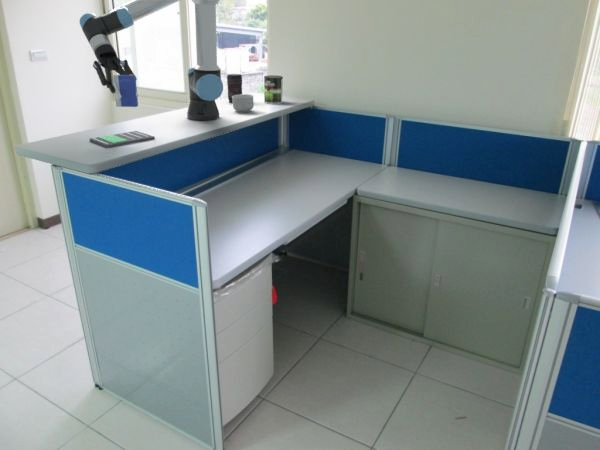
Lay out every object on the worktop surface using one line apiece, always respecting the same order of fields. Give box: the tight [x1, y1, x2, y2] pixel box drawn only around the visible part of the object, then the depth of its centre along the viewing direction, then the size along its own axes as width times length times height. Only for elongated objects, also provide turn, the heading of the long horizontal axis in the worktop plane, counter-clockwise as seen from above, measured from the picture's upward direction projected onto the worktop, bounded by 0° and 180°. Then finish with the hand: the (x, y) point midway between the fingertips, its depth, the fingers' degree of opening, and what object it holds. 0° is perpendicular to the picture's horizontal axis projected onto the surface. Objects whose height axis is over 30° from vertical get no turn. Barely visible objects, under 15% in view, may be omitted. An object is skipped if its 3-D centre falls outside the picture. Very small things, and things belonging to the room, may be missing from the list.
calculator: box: [89, 130, 156, 149], centre depth 198 cm, size 20×14×1 cm
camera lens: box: [226, 73, 243, 104], centre depth 278 cm, size 8×8×15 cm
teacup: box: [232, 93, 254, 114], centre depth 257 cm, size 14×11×8 cm
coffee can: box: [263, 74, 284, 105], centre depth 280 cm, size 10×10×14 cm
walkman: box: [112, 74, 139, 108], centre depth 195 cm, size 8×3×12 cm, turn 94°
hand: (128, 98), depth 194 cm, fingers closed on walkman, 6 cm apart
